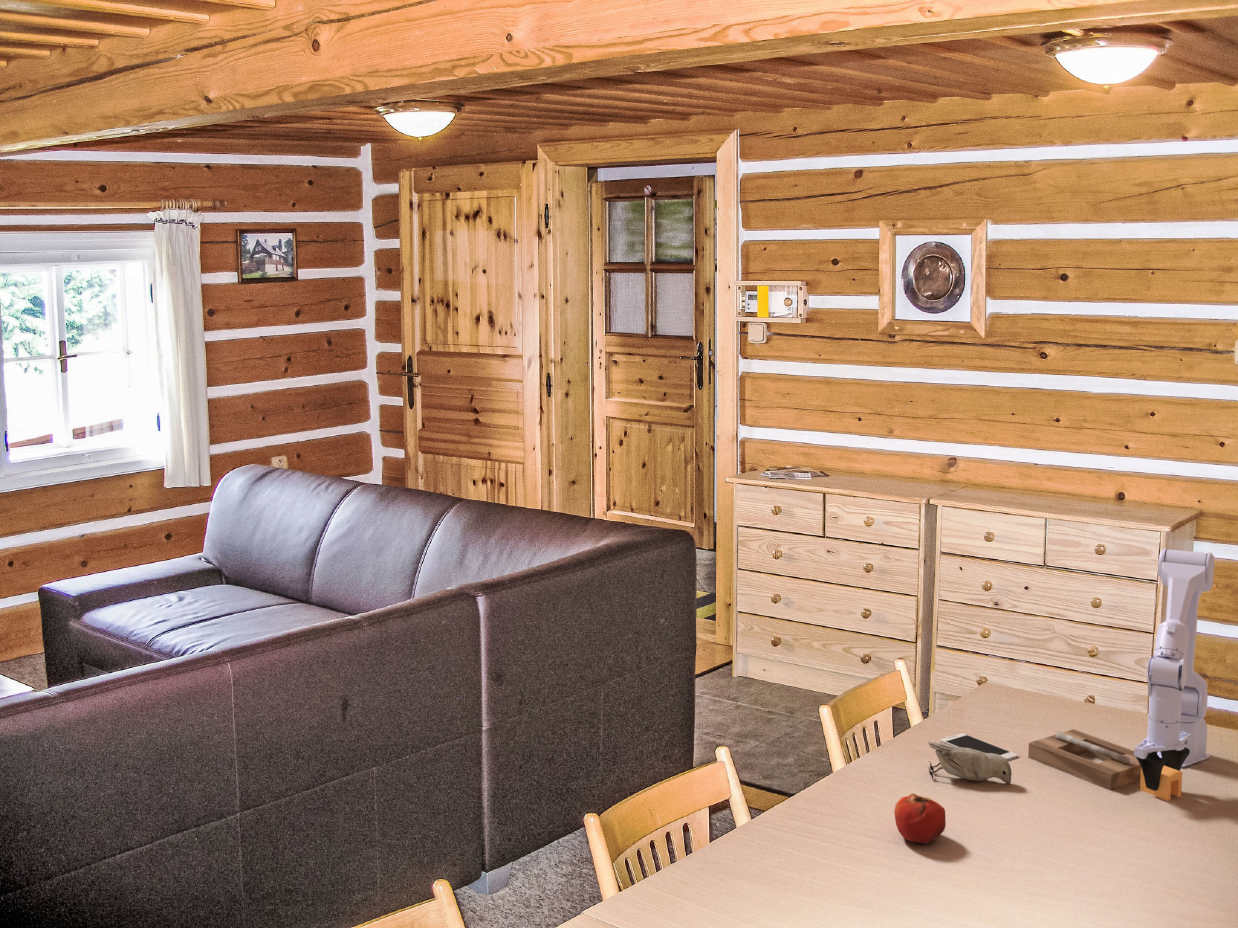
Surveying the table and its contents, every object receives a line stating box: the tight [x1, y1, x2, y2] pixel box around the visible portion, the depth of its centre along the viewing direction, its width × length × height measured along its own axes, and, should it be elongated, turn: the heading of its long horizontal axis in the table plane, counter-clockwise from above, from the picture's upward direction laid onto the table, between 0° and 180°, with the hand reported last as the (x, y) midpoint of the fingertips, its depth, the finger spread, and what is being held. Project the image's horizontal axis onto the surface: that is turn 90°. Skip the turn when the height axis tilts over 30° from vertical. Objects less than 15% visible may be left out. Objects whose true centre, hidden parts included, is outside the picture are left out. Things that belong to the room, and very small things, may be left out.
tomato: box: [893, 792, 947, 844], centre depth 224 cm, size 9×9×8 cm
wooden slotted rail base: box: [1028, 728, 1141, 791], centre depth 256 cm, size 14×20×5 cm
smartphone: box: [939, 732, 1019, 762], centre depth 266 cm, size 7×15×1 cm, turn 32°
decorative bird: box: [927, 740, 1012, 785], centre depth 249 cm, size 5×16×7 cm, turn 73°
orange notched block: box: [1139, 766, 1183, 801], centre depth 242 cm, size 4×6×5 cm
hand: (1160, 785), depth 242 cm, fingers open, 5 cm apart
